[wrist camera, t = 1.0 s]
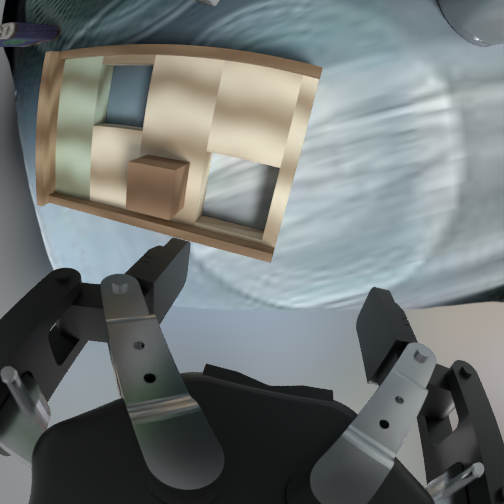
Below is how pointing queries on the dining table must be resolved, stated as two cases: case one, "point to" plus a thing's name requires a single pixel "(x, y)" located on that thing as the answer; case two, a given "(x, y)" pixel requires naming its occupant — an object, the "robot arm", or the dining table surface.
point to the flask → (27, 34)
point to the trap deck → (172, 132)
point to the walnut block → (156, 186)
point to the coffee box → (209, 2)
